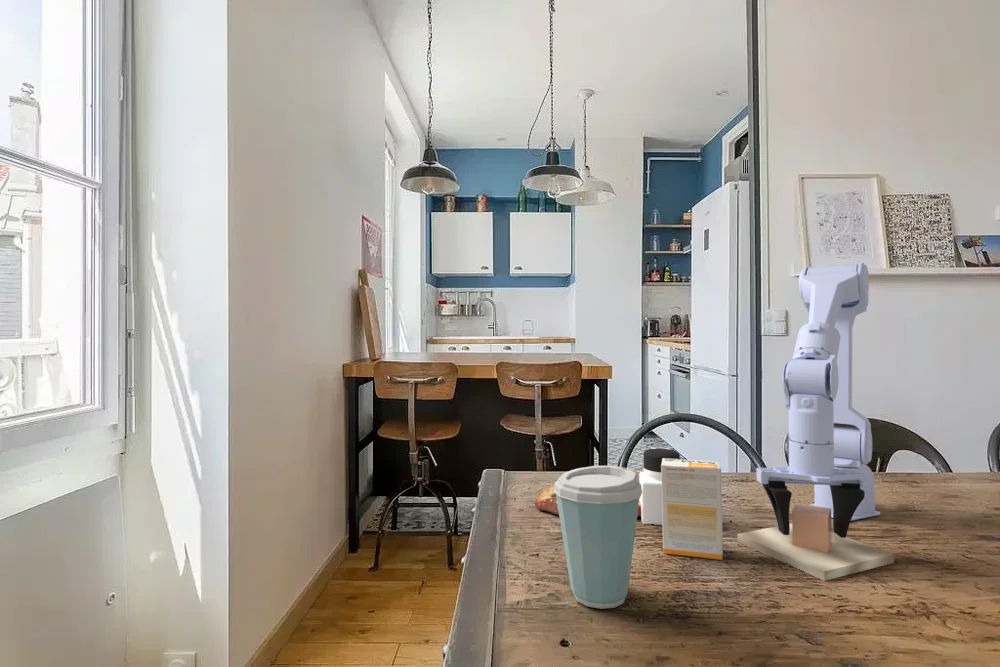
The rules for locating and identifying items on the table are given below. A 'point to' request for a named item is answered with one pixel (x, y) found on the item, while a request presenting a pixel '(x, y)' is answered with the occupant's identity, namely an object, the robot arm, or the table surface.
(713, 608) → the table surface
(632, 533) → the disposable coffee cup
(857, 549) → the post board
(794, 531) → the salmon pink cube
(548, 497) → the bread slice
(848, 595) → the table surface
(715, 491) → the supplement box
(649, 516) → the medicine bottle
